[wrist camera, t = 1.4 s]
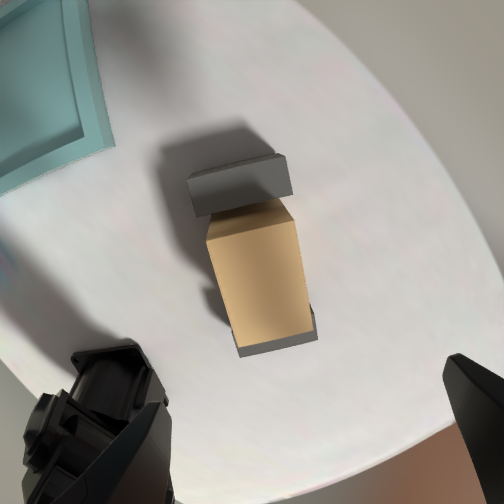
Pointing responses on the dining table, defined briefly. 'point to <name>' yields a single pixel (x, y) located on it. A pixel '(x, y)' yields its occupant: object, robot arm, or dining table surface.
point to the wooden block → (260, 272)
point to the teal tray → (48, 90)
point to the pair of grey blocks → (241, 194)
